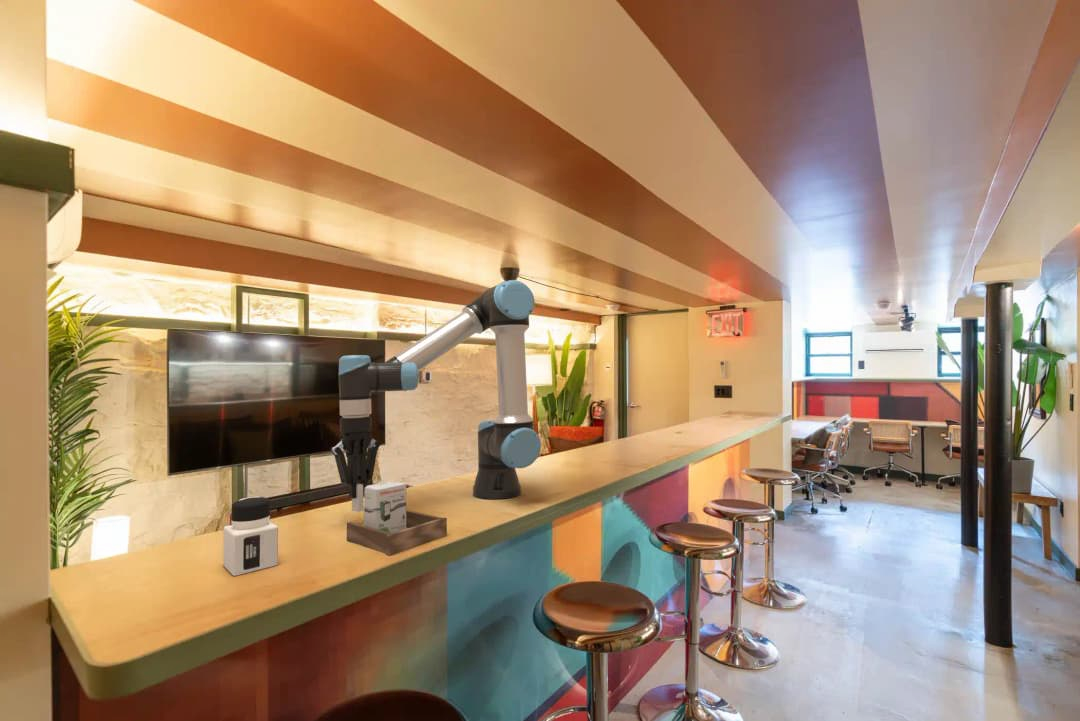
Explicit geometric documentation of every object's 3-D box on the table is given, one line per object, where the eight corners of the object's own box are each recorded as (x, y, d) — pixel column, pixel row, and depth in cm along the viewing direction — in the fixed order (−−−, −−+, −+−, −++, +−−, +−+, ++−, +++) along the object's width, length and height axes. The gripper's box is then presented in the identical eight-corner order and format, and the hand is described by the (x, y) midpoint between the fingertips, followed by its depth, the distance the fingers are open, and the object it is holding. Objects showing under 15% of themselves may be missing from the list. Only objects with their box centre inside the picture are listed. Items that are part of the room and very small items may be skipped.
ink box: (375, 542, 109) (375, 489, 110) (362, 538, 112) (363, 486, 113) (407, 532, 116) (407, 482, 117) (394, 529, 119) (394, 480, 120)
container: (278, 565, 96) (279, 498, 97) (233, 577, 91) (234, 506, 91) (265, 555, 102) (266, 492, 102) (222, 566, 96) (223, 499, 97)
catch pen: (402, 524, 123) (402, 507, 124) (446, 535, 114) (446, 517, 114) (344, 541, 111) (344, 523, 111) (388, 555, 101) (388, 536, 101)
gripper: (369, 413, 132) (371, 502, 131) (323, 418, 121) (325, 514, 120) (386, 414, 127) (388, 506, 126) (340, 419, 117) (342, 519, 116)
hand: (357, 510), depth 123 cm, fingers closed
